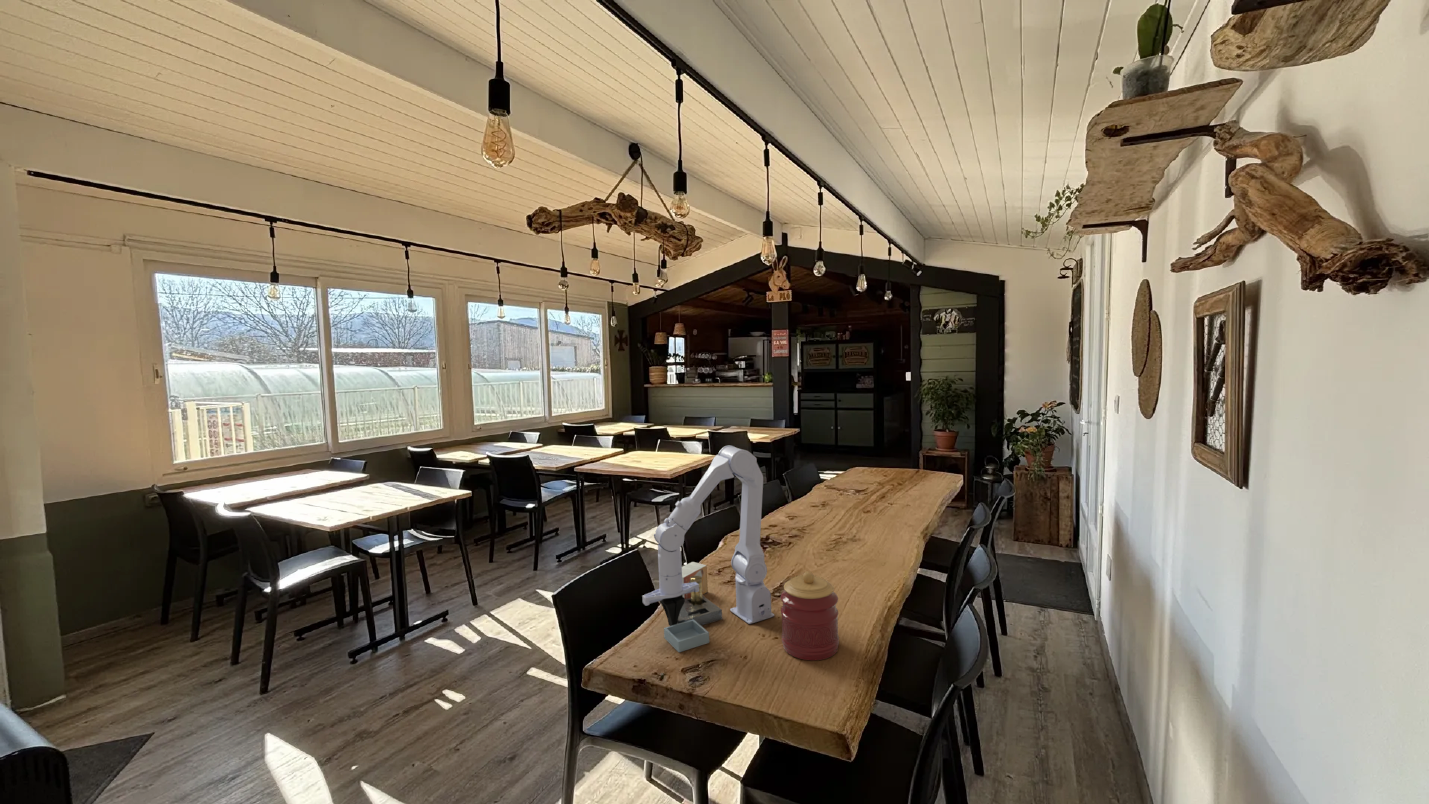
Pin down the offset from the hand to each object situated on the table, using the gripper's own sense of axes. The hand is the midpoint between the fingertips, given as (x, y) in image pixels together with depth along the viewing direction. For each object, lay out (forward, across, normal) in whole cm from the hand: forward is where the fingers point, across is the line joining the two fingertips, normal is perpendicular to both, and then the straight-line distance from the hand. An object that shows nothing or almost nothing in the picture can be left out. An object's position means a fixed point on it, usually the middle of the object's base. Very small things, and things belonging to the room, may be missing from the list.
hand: (672, 625), depth 138 cm
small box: (-3, -17, -18) cm, 25 cm away
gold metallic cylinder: (+1, -10, -6) cm, 12 cm away
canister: (+1, -23, +25) cm, 34 cm away
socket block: (+1, -9, -4) cm, 10 cm away
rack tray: (+1, 0, +6) cm, 7 cm away
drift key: (+1, -5, 0) cm, 5 cm away
